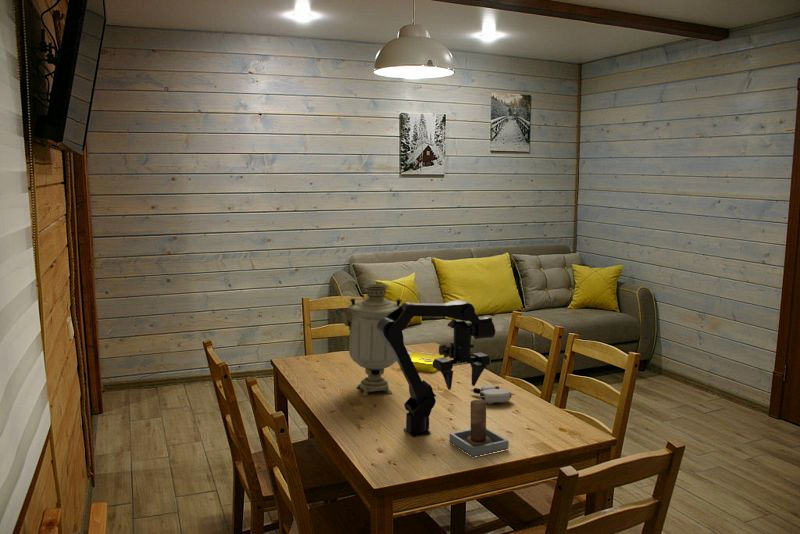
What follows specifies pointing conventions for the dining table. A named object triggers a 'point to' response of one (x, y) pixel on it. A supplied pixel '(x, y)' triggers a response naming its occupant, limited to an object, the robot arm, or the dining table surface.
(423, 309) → the robot arm
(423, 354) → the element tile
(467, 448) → the box
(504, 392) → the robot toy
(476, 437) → the handle
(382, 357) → the samovar
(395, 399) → the dining table surface
